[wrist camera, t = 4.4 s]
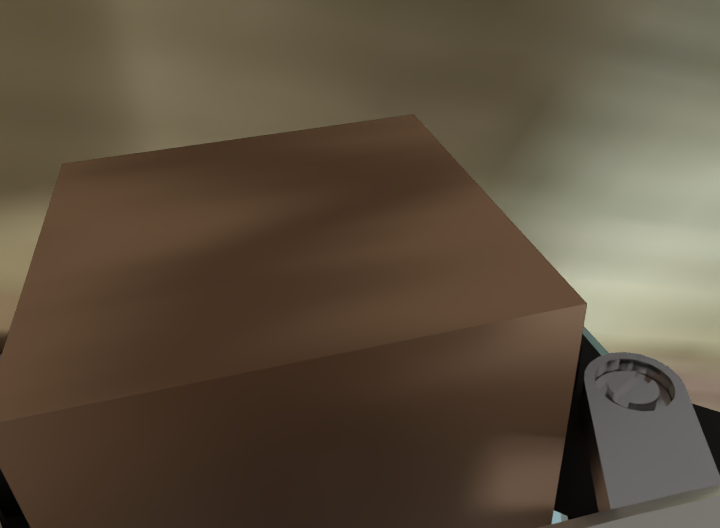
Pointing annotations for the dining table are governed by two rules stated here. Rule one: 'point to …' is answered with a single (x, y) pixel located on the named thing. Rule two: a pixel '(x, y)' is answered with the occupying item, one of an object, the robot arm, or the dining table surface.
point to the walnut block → (287, 342)
